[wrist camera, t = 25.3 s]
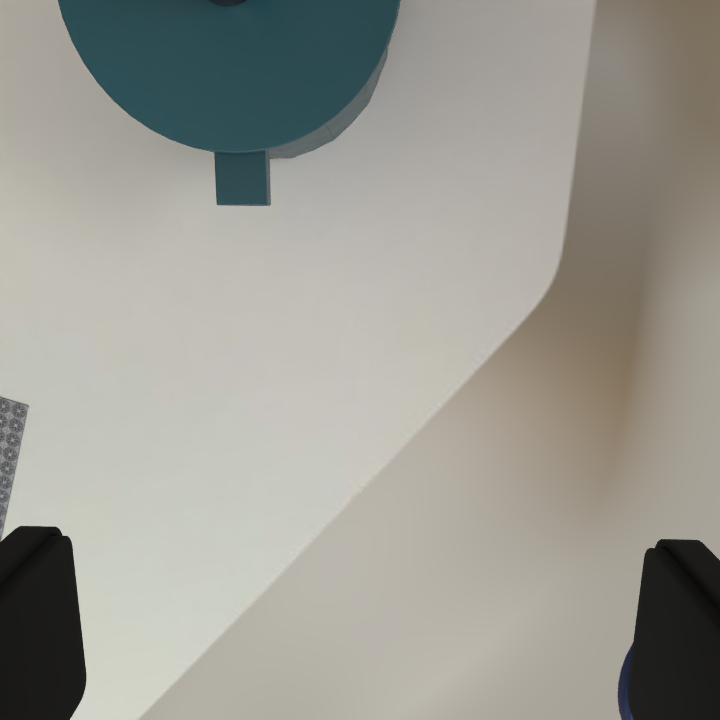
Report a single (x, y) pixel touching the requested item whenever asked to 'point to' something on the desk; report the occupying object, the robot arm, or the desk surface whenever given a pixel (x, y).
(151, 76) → the lid
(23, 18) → the desk surface
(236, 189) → the pot
